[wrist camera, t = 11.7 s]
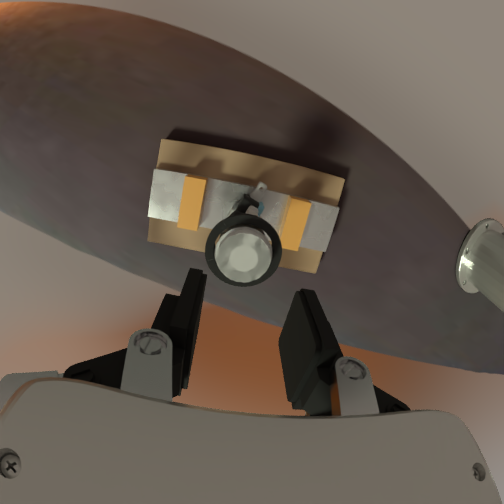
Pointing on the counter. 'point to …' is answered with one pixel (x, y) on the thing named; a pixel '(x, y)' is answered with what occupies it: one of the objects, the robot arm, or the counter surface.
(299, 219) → the end stops
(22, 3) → the counter surface
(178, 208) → the din rail
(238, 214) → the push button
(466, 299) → the counter surface
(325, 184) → the din panel
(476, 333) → the counter surface
